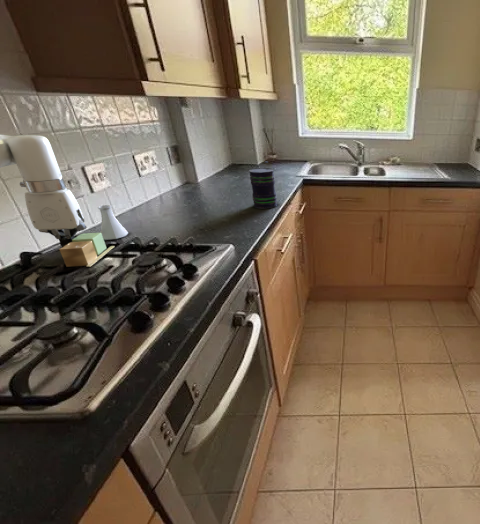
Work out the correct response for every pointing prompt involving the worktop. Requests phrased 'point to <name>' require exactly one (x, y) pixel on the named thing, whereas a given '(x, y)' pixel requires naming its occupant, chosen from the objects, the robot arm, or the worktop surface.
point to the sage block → (93, 241)
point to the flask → (110, 224)
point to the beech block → (78, 253)
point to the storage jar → (263, 187)
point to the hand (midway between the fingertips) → (71, 250)
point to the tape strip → (100, 256)
